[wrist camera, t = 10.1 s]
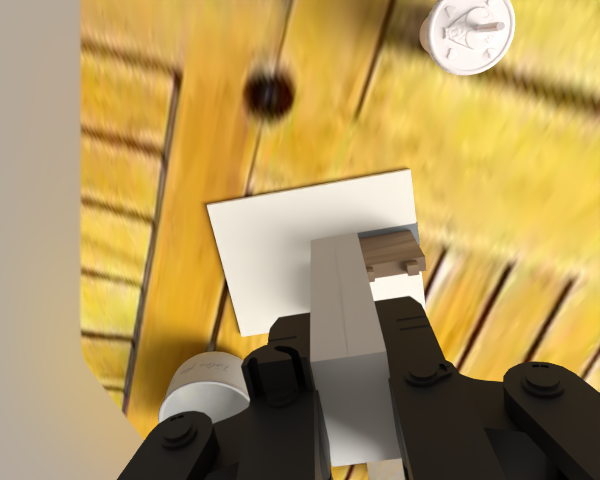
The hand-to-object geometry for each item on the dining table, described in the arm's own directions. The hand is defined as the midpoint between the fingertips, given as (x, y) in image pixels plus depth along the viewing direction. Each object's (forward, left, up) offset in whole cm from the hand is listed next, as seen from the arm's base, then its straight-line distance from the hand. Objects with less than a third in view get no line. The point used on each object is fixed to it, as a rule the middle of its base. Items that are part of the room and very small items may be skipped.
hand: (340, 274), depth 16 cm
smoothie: (-6, +12, -35) cm, 37 cm away
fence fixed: (+13, +3, -34) cm, 36 cm away
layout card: (+14, -3, -34) cm, 37 cm away
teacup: (+28, -18, -35) cm, 48 cm away
